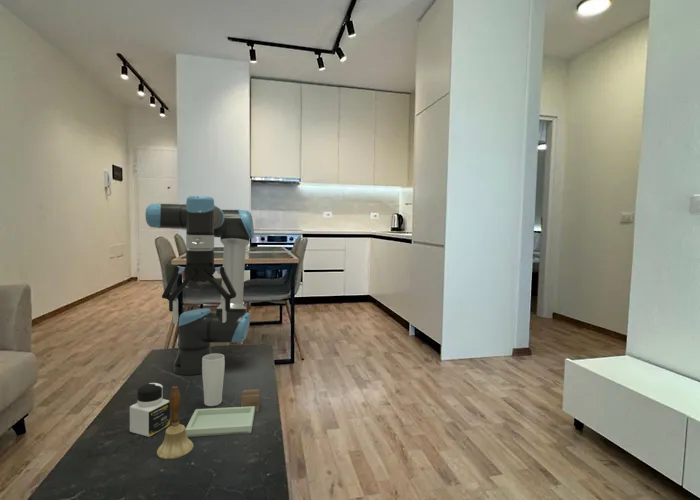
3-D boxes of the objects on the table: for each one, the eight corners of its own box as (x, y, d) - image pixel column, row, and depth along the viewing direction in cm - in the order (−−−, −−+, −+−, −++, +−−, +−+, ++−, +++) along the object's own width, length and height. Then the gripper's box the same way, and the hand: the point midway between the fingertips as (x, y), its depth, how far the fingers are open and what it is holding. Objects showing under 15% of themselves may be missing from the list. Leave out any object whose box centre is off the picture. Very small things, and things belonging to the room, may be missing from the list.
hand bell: (177, 462, 89) (178, 395, 89) (148, 455, 92) (149, 390, 91) (200, 443, 97) (201, 382, 97) (173, 438, 100) (173, 378, 99)
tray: (195, 415, 112) (195, 409, 112) (254, 412, 115) (254, 406, 115) (184, 437, 100) (184, 429, 100) (251, 433, 103) (251, 425, 103)
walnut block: (243, 405, 119) (243, 390, 119) (259, 404, 120) (259, 389, 120) (241, 413, 115) (241, 396, 114) (258, 412, 115) (258, 395, 115)
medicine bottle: (149, 437, 100) (149, 392, 99) (129, 432, 102) (129, 388, 102) (170, 425, 106) (170, 382, 106) (151, 420, 109) (151, 379, 108)
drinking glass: (216, 409, 116) (217, 361, 116) (197, 406, 118) (197, 359, 117) (228, 400, 123) (228, 354, 122) (209, 397, 124) (209, 352, 124)
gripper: (149, 249, 104) (150, 326, 105) (243, 251, 108) (242, 324, 110) (158, 248, 111) (158, 319, 113) (245, 249, 116) (245, 318, 117)
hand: (200, 322), depth 111 cm, fingers open, 13 cm apart
